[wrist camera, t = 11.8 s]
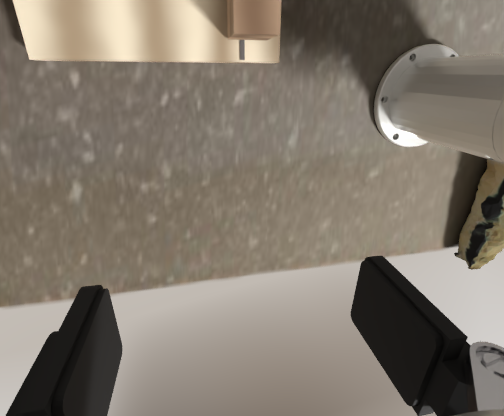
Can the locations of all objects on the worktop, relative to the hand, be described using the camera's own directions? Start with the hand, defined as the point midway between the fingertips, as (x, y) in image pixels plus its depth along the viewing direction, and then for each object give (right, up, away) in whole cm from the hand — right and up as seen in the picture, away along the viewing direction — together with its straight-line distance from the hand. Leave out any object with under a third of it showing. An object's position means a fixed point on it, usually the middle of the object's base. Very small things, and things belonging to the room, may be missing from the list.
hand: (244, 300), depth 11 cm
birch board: (-9, +23, +19) cm, 32 cm away
